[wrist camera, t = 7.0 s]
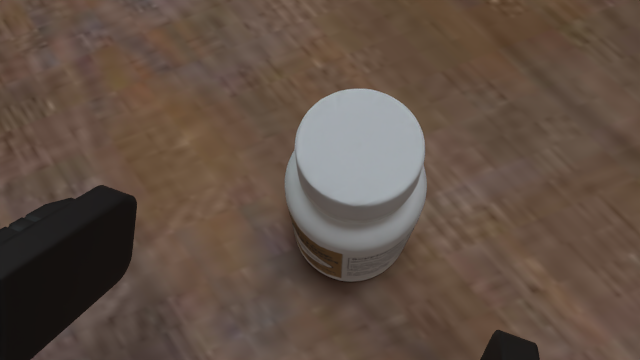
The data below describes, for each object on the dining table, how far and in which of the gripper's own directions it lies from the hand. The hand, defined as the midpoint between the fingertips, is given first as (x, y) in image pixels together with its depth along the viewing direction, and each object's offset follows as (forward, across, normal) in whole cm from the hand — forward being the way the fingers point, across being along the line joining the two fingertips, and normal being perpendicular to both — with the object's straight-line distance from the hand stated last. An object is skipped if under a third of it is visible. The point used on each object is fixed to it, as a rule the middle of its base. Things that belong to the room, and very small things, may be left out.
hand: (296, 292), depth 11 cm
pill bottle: (+10, 0, +3) cm, 10 cm away
